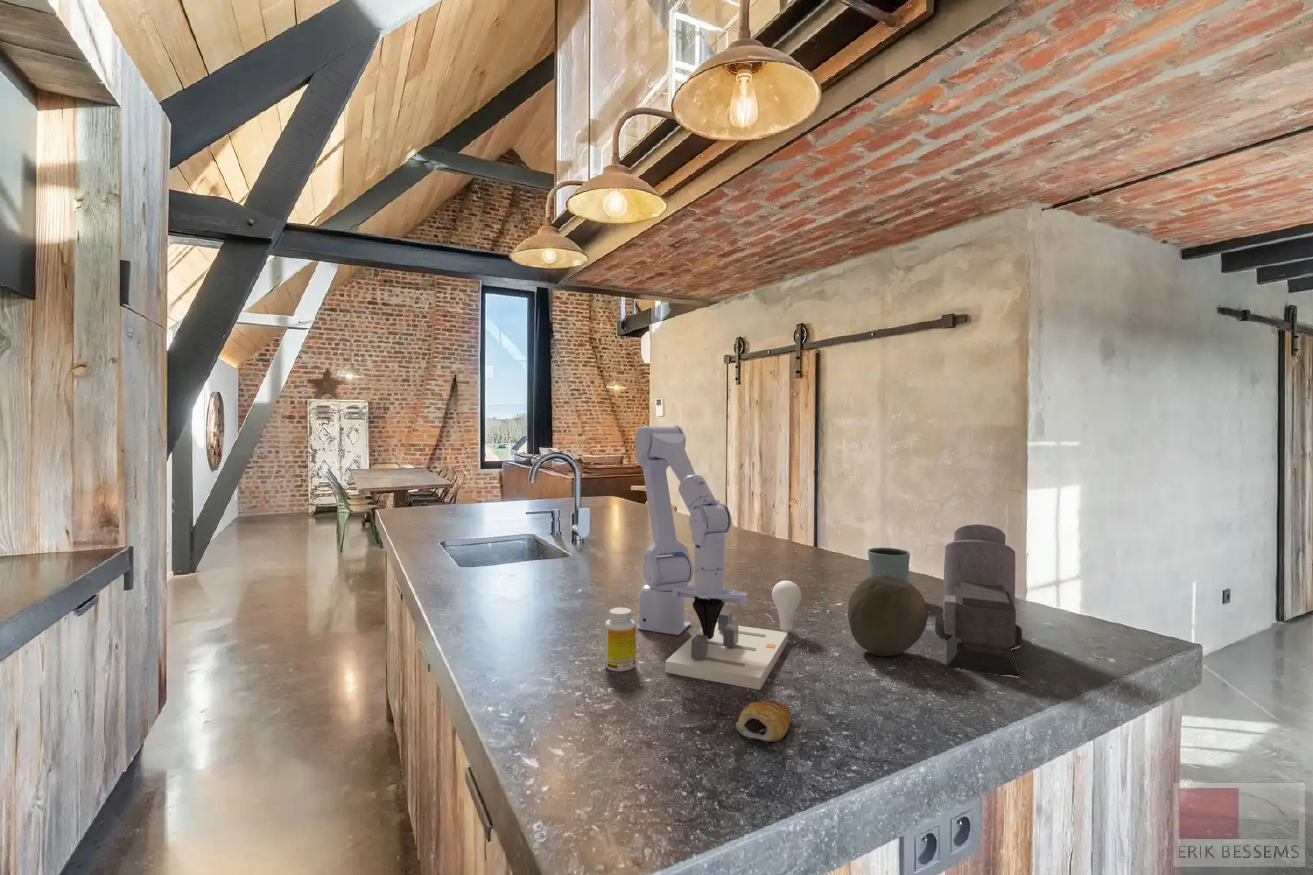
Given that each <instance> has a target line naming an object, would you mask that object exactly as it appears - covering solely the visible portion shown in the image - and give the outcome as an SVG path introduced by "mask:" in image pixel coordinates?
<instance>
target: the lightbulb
mask: <svg viewBox="0 0 1313 875" xmlns="http://www.w3.org/2000/svg"><path fill="white" fill-rule="evenodd" d="M771 597H772V601H773V603H774V606H775V607H776V610H777V613H778V621H779V628H780V630H781V631H782V632H786V633H789V632H790V631H792V630H793V622H794V620H795V612H796V610H797V608H798V606H799V605H800V603H801V599H802V591H801V589H800V588H799V586H798V585H797V584H796V583H795V582H793V581H791V580H781V581H778V583H777V582H776V584H775V585H774V587H773V589H772V591H771Z"/></svg>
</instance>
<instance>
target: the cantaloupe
mask: <svg viewBox="0 0 1313 875" xmlns="http://www.w3.org/2000/svg"><path fill="white" fill-rule="evenodd" d="M849 597H850V598H849V600H848V607H847V619H848V623H849V624H848V625H849V628H850V633H851V636H852V637H853V639H854V640H855V641H856V643H857V644H858V645H859V646H860V647H862V648H863V649H865V650H866V651H867V652H869V653H870V654H872V655H875V656H878V657H890V656H891V657H892V656H895V655H899V654H901V653H904V652H905V651H907V650H908V649H910V648H911V647H912V646H913V645H914V644H916V643H917V642H918V640H919V639H920V638H921V637H922V635H923V633H924V631H925V628H926V626H927V623H928V618H929V612H928V606H927V604H926V601H925V599H924V597H923V595H922V594H921V592H920V591H919V590H918V588H917V587H915V586H914V585H913V584H912V583H911V582H909V581H908V582H907V581H906V580H904V579H901V578H897V577H894V576H889V575H876V576H873V577H870V576H869V577H866V579H864V580H862V581H861V582H859V584H857V586H856V587H855V589H853V592H851V595H850V596H849Z"/></svg>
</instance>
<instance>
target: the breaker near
mask: <svg viewBox="0 0 1313 875" xmlns="http://www.w3.org/2000/svg"><path fill="white" fill-rule="evenodd" d="M707 654H708V636H705V635H699V634H697V635H696V636H695V637H694V638H693V639H692V646H691V658H695V659H701V660H702V659H703V658H704V657H705V656H706V655H707Z"/></svg>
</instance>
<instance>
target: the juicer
mask: <svg viewBox="0 0 1313 875" xmlns="http://www.w3.org/2000/svg"><path fill="white" fill-rule="evenodd" d="M944 549H945V551H944V565H943V595H942V596H943V597H942V598H943V605H942V607H943V608H942V609H943V610H942V613H939V614H937V615H936V616H935V618H934V621H935V622H934V627H935V628H934V633H935V632H936V633H935V634H936V635H937V637H938V638H940V639H941V640H944V639H945V640H944V641H946V640H947V644H946V667H947V668H950V669H956V668H960V669H959V670H962V669H965V670H964V671H968V670H969V671H970V672H974V671H975V673H980V672H983V673H982V674H986V673H991V674H990V675H992V674H998V675H997V676H999V675H1013V676H1018V677H1020V676H1021V675H1020V676H1019V673H1020V671H1019V672H1018V670H1019V668H1018V669H1017V667H1018V665H1017V666H1016V664H1017V662H1016V663H1015V661H1016V659H1015V660H1014V658H1015V656H1014V657H1013V655H1014V653H1013V654H1012V651H1013V650H1012V651H1011V649H1012V648H1015V647H1017V646H1020V645H1021V644H1023V629H1022V628H1021V627H1020V626H1019V625H1018V624H1016V622H1017V620H1016V619H1017V618H1016V617H1017V614H1016V613H1017V612H1016V611H1017V609H1016V608H1015V606H1016V551H1015V550H1014V549H1013V548H1012V547H1011V546H1009V545H1008V544H1006V534H1005V533H1004V531H1002V530H1001V529H999V528H997V527H995V526H993V525H992V526H991V525H989V524H988V525H986V524H979V523H977V524H967V525H962V526H960V527H958V528H957V529H956V530H955V531H954V533H953V541H951V542H949V543H947V544H946V545H945V548H944Z"/></svg>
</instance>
